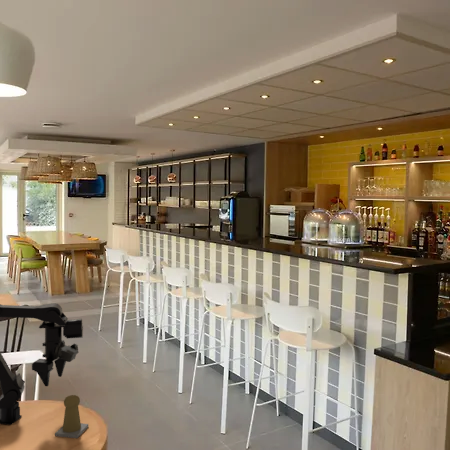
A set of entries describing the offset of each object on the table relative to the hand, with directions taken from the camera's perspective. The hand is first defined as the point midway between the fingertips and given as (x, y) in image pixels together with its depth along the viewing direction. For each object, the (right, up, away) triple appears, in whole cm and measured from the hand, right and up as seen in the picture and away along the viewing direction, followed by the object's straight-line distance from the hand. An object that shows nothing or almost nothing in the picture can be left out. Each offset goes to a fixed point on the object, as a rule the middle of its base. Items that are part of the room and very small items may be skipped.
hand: (53, 381), depth 167 cm
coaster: (+10, -14, -10) cm, 20 cm away
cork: (+10, -13, -10) cm, 19 cm away
